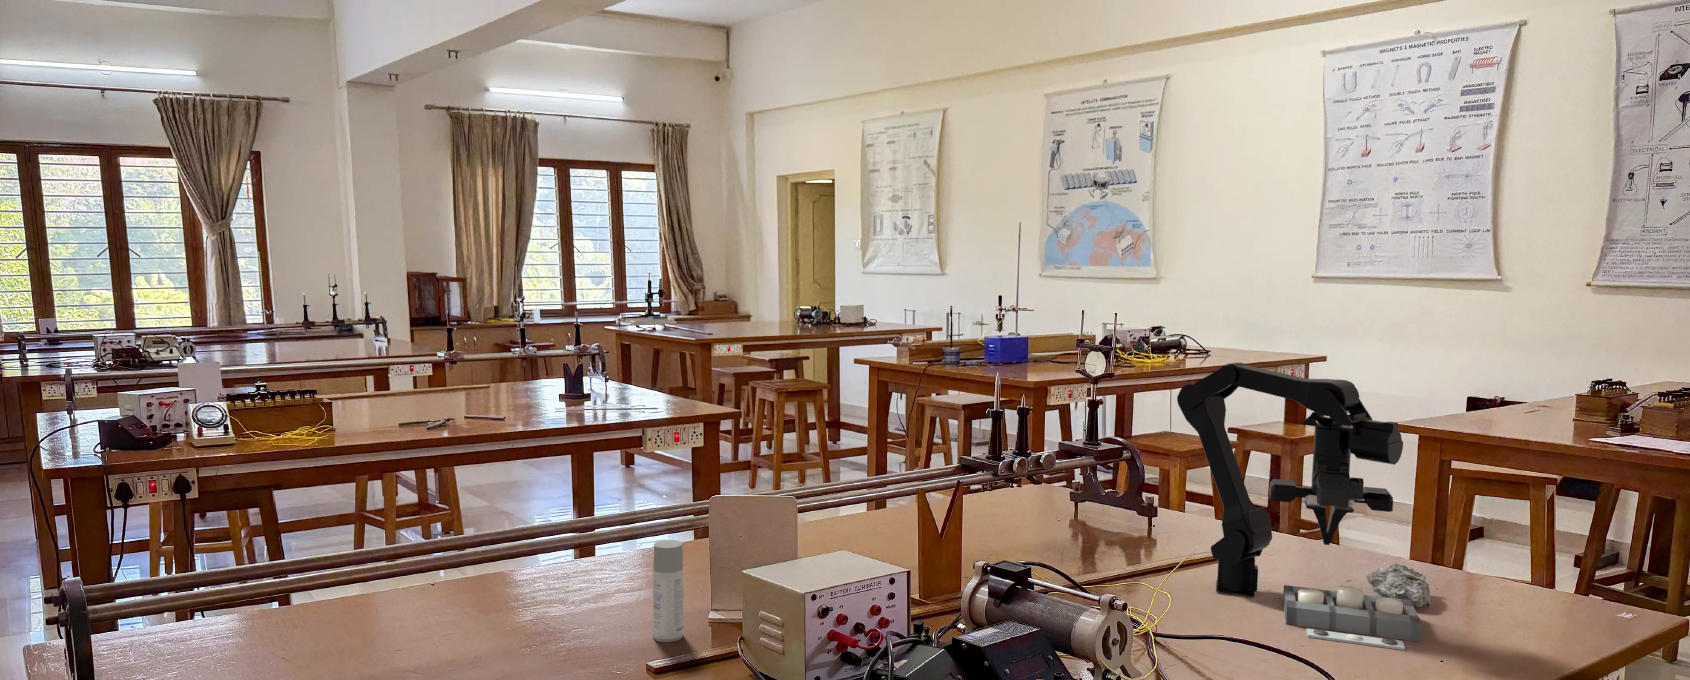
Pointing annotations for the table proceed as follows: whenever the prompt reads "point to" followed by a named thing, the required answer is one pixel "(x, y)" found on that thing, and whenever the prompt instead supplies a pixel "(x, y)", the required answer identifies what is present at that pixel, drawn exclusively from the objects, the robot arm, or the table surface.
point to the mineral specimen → (1401, 584)
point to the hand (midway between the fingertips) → (1326, 544)
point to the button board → (1352, 616)
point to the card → (1355, 639)
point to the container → (668, 591)
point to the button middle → (1349, 597)
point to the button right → (1389, 606)
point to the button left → (1310, 596)
